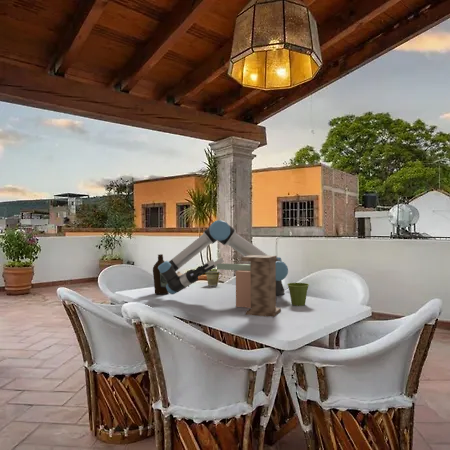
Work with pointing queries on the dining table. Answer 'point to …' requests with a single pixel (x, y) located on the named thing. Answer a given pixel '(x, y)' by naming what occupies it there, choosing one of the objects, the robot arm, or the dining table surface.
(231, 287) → the dining table surface
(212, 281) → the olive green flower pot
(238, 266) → the handle rail
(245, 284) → the reddish brown block
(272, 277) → the tall stand
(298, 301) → the plant pot
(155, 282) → the olive oil
